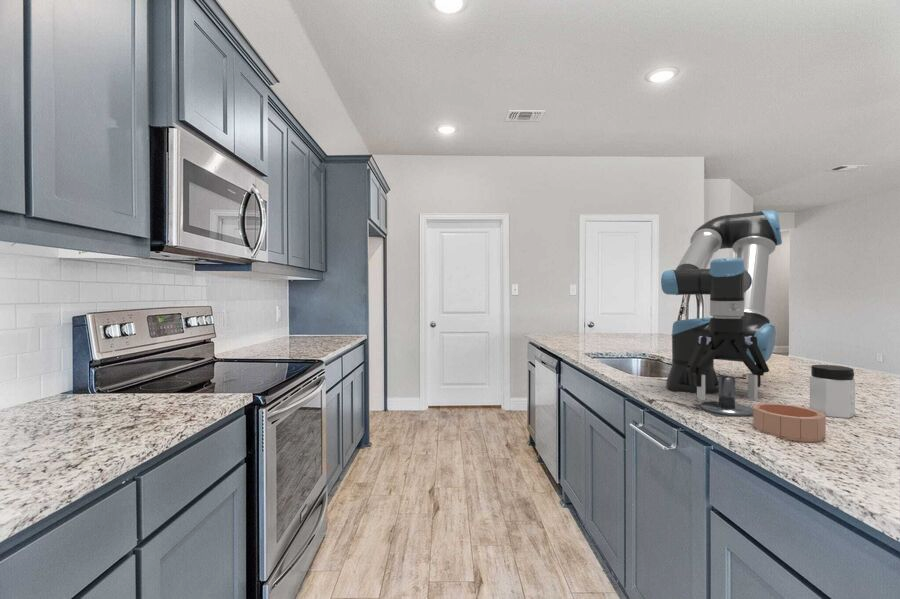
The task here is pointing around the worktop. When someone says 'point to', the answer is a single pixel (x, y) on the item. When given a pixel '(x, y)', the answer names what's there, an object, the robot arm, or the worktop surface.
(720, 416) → the mat
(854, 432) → the worktop surface
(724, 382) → the lid
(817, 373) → the jar
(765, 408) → the bowl
